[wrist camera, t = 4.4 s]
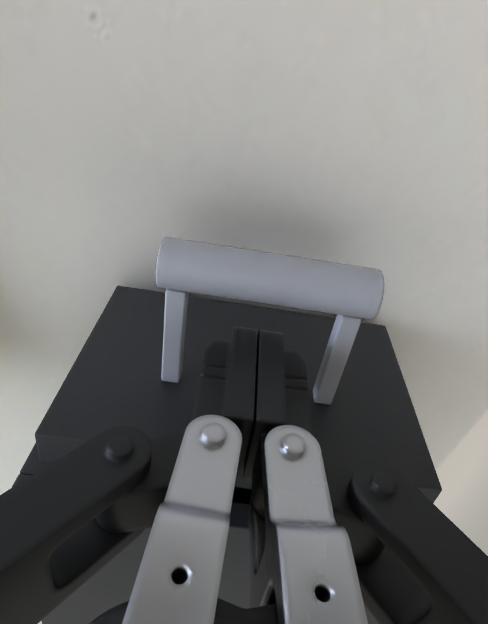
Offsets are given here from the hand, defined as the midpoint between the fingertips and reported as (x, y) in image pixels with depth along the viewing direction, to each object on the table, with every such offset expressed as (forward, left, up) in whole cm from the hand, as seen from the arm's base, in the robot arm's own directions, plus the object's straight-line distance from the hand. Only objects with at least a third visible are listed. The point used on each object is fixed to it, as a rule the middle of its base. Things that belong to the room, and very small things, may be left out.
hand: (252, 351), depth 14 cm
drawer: (0, +6, -5) cm, 8 cm away
